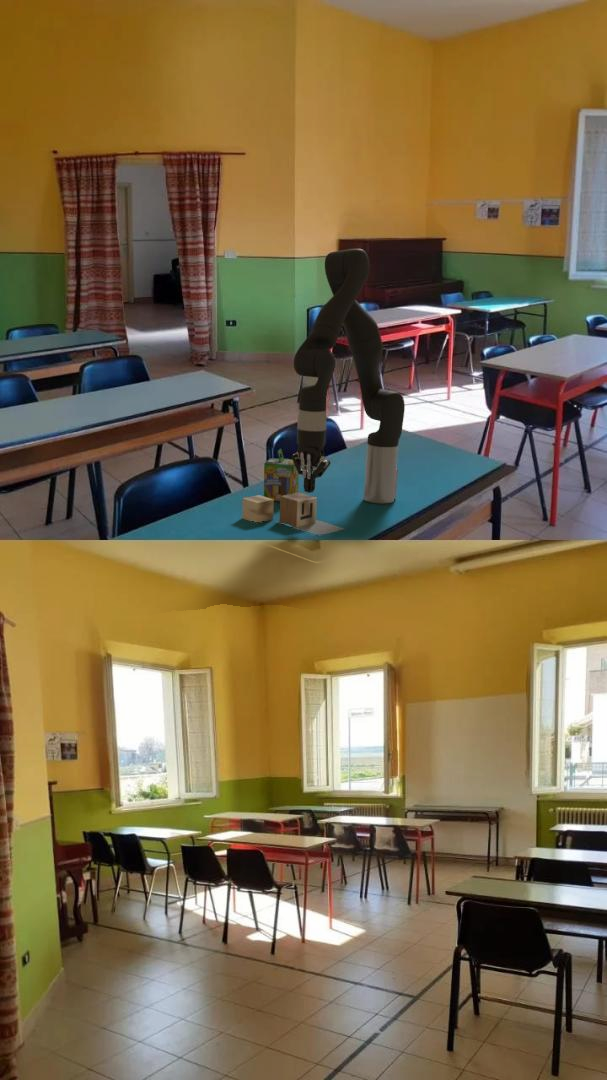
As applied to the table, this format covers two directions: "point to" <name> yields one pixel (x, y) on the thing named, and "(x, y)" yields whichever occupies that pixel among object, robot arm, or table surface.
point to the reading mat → (317, 527)
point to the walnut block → (298, 509)
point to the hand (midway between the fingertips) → (308, 491)
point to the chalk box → (280, 477)
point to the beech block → (258, 508)
